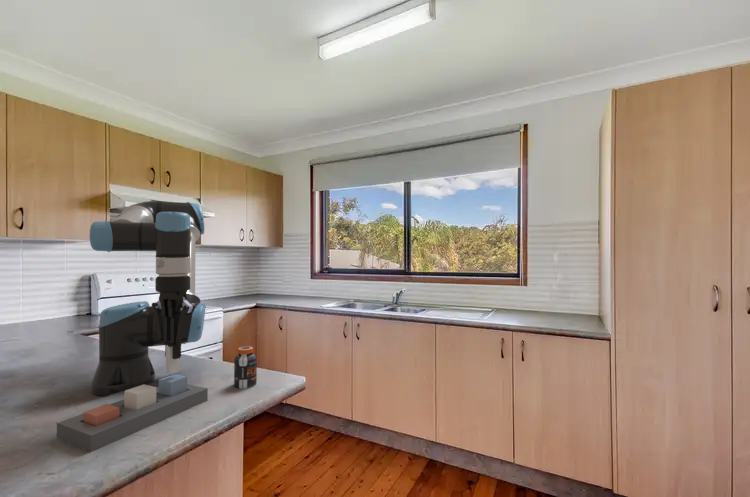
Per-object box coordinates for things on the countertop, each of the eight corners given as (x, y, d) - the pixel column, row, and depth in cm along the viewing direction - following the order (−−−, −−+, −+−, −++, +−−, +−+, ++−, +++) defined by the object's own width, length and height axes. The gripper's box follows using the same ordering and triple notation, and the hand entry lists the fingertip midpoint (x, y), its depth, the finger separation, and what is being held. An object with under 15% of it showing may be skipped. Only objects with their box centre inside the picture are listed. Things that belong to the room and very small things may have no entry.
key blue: (158, 396, 90) (158, 379, 90) (175, 389, 94) (175, 374, 94) (170, 399, 88) (170, 382, 88) (187, 392, 92) (187, 376, 92)
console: (56, 442, 74) (56, 422, 74) (175, 396, 98) (175, 381, 98) (91, 457, 69) (91, 435, 69) (207, 404, 93) (207, 388, 93)
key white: (124, 408, 82) (124, 390, 82) (143, 401, 86) (143, 384, 86) (136, 412, 80) (136, 394, 80) (156, 404, 84) (156, 387, 84)
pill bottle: (249, 392, 100) (249, 351, 100) (229, 391, 101) (229, 349, 101) (260, 385, 106) (260, 345, 106) (241, 383, 107) (241, 344, 107)
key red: (83, 431, 75) (83, 412, 75) (106, 422, 79) (106, 404, 79) (96, 436, 73) (96, 416, 73) (119, 426, 77) (119, 407, 77)
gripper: (141, 275, 90) (140, 372, 90) (177, 276, 85) (177, 380, 84) (169, 273, 97) (169, 363, 97) (204, 274, 91) (204, 370, 91)
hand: (173, 371), depth 91 cm, fingers closed
